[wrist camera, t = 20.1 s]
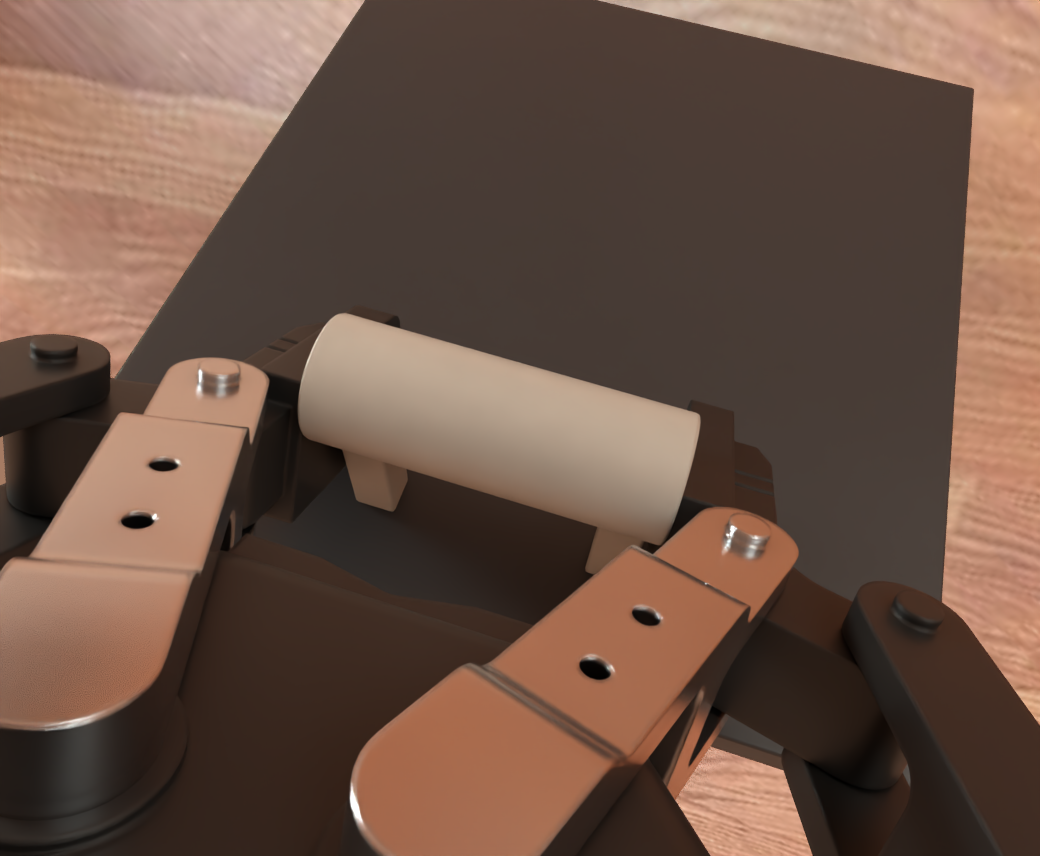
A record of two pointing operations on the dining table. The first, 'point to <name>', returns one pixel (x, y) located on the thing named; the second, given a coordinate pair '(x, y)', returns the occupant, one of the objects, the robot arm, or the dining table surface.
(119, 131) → the dining table surface
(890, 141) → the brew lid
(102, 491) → the robot arm
